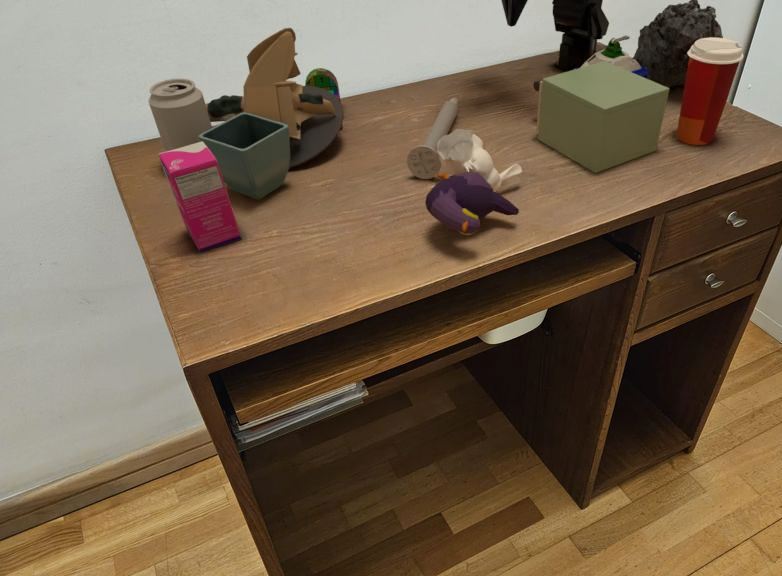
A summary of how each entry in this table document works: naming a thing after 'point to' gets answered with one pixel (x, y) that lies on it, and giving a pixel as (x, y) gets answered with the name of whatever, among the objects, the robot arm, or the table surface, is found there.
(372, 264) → the table surface
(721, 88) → the paper cup
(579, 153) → the storage box
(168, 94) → the can
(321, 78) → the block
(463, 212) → the toy
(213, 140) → the flower pot
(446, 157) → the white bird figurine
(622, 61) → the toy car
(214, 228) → the supplement box
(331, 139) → the toy
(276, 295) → the table surface
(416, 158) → the screw
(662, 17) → the rock
